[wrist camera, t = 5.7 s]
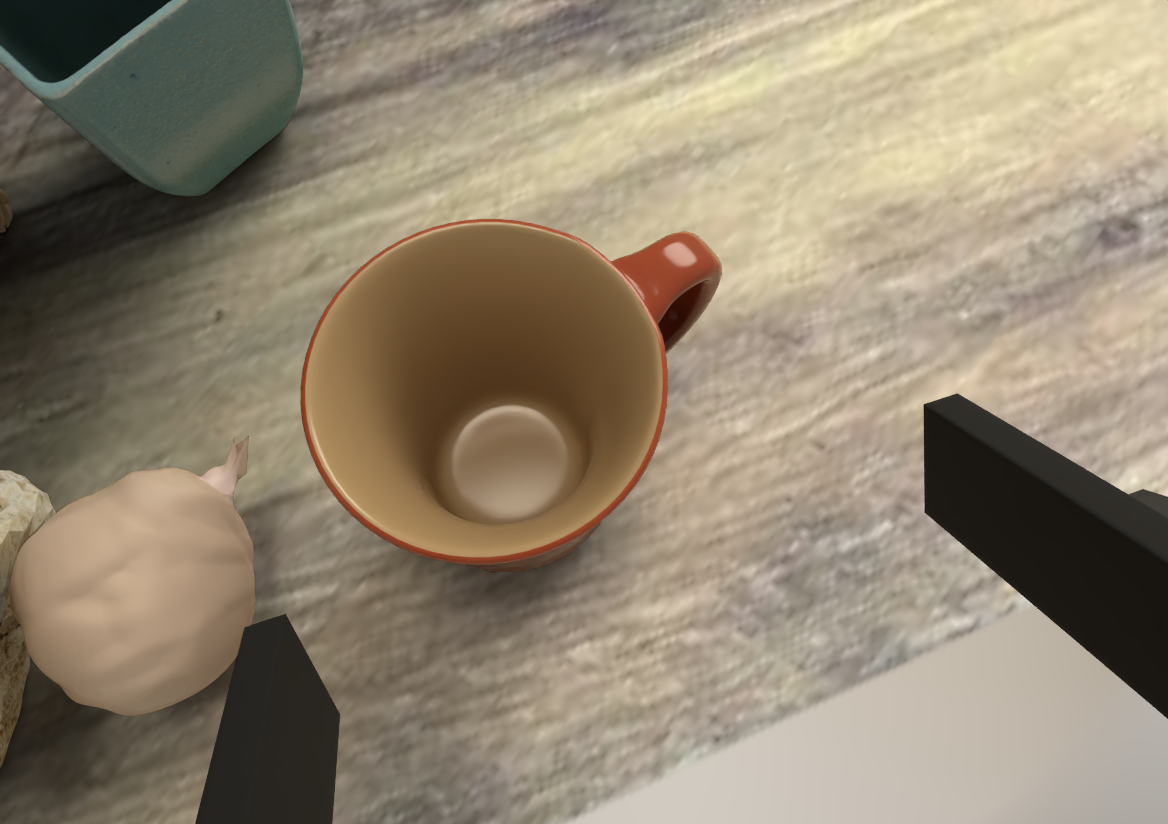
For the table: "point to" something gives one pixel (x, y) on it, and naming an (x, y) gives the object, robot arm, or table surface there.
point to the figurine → (5, 211)
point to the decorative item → (3, 524)
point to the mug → (497, 386)
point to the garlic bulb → (139, 588)
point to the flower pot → (161, 79)
